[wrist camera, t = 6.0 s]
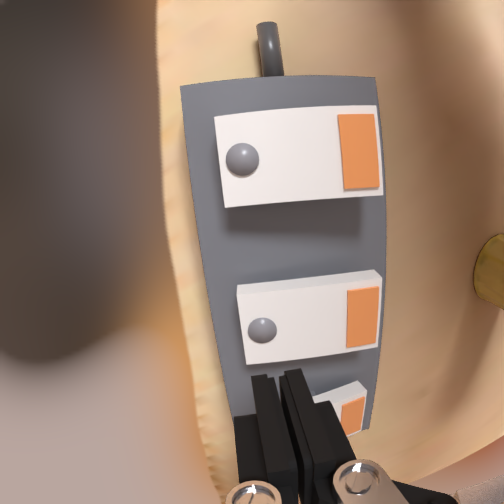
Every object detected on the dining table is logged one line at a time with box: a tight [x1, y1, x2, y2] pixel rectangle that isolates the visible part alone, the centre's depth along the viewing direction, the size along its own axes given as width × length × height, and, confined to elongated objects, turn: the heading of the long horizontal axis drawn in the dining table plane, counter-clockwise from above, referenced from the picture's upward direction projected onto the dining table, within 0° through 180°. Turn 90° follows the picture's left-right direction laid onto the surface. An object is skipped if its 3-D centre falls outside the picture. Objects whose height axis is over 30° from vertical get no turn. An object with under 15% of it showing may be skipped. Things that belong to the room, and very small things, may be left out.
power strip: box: [180, 22, 386, 431], centre depth 18 cm, size 28×10×4 cm, turn 6°
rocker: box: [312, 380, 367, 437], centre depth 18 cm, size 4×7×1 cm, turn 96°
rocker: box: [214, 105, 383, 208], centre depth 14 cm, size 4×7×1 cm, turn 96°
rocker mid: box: [237, 269, 382, 365], centre depth 16 cm, size 4×7×1 cm, turn 96°
